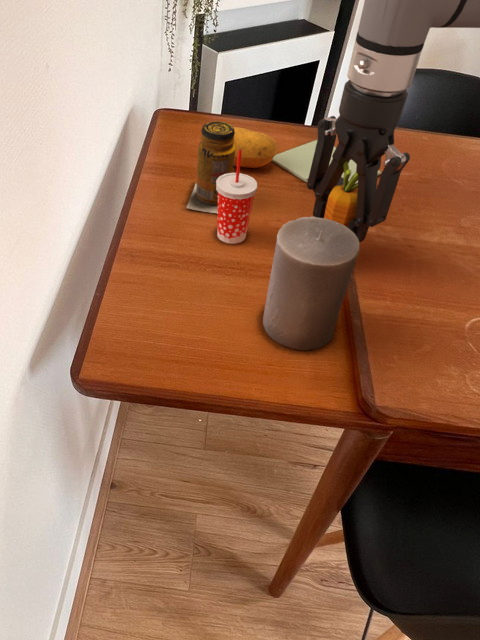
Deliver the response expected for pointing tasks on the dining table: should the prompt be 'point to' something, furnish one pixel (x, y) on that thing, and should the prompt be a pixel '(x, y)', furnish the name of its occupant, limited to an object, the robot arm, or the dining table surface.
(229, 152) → the condiment
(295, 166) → the corner mat
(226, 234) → the beverage cup
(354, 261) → the pillar candle
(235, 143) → the potato
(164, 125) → the dining table surface
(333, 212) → the carrot
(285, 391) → the dining table surface
